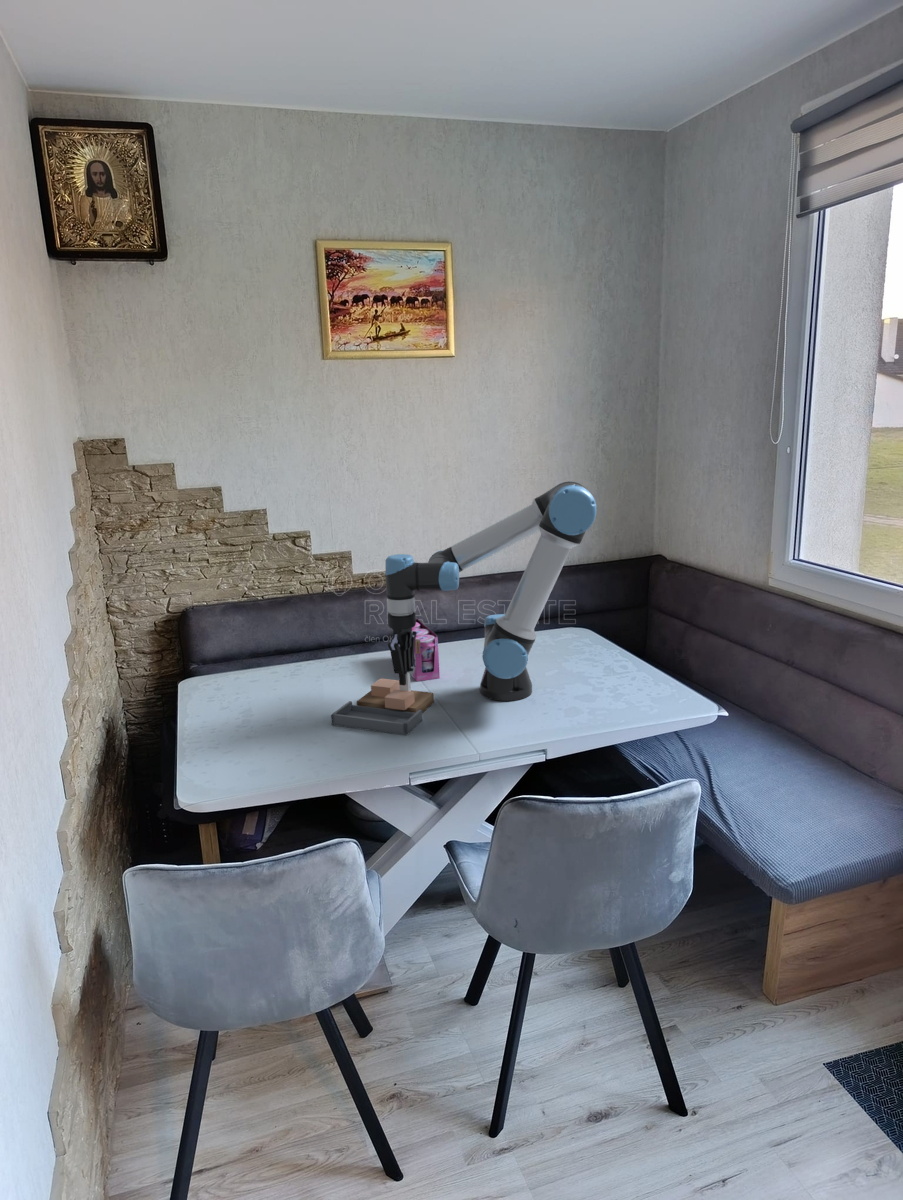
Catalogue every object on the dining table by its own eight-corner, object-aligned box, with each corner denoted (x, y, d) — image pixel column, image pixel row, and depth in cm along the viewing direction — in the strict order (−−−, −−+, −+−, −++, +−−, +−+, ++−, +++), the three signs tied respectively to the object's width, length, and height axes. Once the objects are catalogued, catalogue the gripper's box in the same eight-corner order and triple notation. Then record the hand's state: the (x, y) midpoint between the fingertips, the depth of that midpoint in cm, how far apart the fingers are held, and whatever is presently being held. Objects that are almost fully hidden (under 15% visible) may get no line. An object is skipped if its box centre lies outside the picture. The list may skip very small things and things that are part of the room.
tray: (422, 720, 206) (421, 710, 205) (406, 735, 197) (405, 724, 196) (350, 711, 214) (349, 701, 213) (331, 725, 205) (331, 714, 204)
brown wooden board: (433, 702, 218) (433, 692, 217) (416, 718, 207) (415, 708, 206) (377, 695, 225) (376, 686, 224) (357, 711, 214) (356, 701, 213)
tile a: (414, 702, 211) (414, 691, 210) (405, 710, 206) (404, 699, 205) (395, 699, 213) (394, 689, 212) (385, 707, 208) (384, 697, 207)
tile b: (399, 690, 220) (399, 680, 219) (390, 697, 215) (390, 687, 214) (381, 688, 222) (380, 678, 222) (371, 695, 217) (370, 685, 216)
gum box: (442, 679, 236) (440, 637, 233) (417, 683, 234) (415, 641, 230) (420, 657, 258) (418, 618, 255) (397, 660, 256) (395, 621, 252)
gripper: (399, 605, 214) (403, 685, 220) (377, 617, 202) (382, 701, 208) (424, 607, 211) (427, 688, 217) (403, 619, 199) (407, 704, 205)
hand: (405, 694), depth 212 cm, fingers closed
